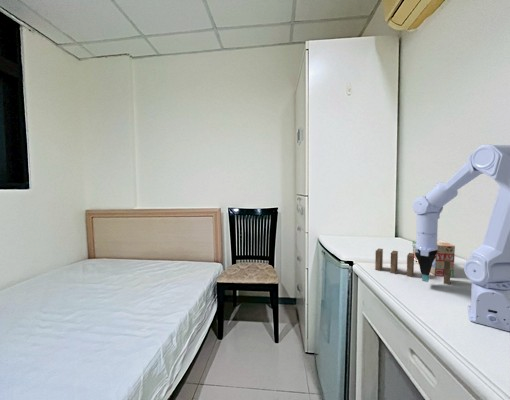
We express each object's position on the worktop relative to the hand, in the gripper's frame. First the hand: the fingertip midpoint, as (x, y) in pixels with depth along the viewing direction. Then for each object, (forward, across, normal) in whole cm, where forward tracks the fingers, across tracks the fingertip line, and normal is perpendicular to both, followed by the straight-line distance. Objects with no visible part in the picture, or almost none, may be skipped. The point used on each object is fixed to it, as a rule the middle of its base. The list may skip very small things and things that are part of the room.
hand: (426, 272), depth 80 cm
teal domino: (+2, 0, 0) cm, 2 cm away
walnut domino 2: (+5, -9, -11) cm, 15 cm away
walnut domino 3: (+5, -9, -6) cm, 12 cm away
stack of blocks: (+5, -24, 0) cm, 25 cm away
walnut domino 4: (+5, -9, +5) cm, 12 cm away
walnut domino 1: (+5, -9, -17) cm, 20 cm away
